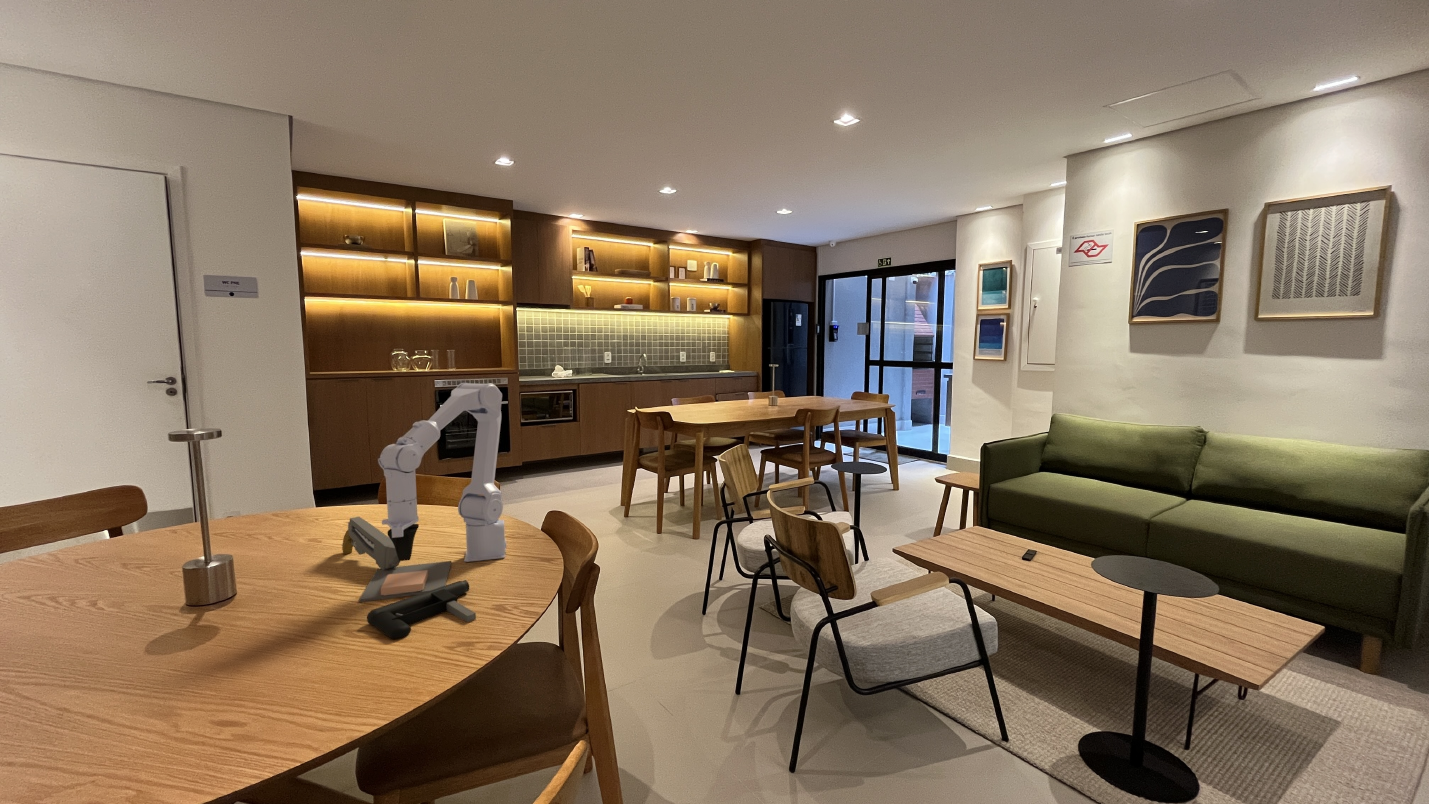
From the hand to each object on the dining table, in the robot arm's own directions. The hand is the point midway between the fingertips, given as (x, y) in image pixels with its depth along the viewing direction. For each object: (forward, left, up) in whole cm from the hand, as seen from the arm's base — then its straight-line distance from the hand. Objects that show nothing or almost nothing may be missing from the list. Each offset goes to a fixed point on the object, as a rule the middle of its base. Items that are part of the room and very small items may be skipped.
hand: (404, 559), depth 128 cm
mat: (0, -4, -6) cm, 8 cm away
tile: (0, -3, -5) cm, 6 cm away
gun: (+11, -20, -6) cm, 24 cm away
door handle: (-8, +17, -7) cm, 20 cm away
